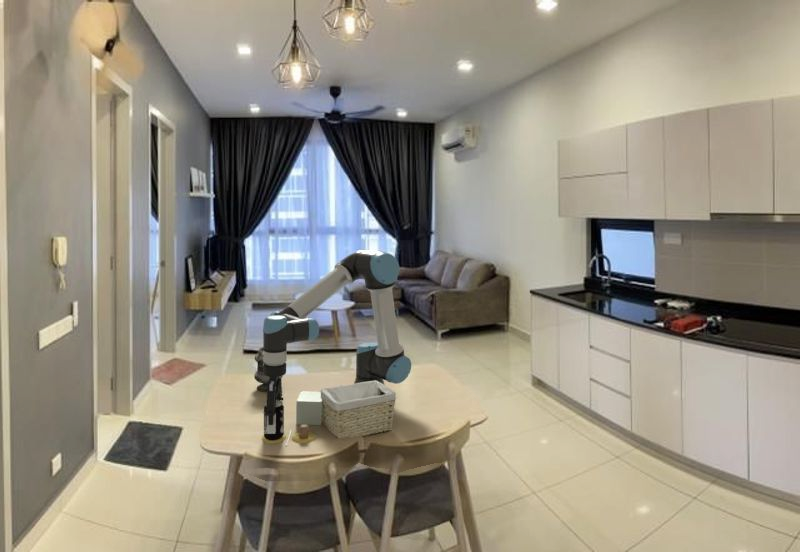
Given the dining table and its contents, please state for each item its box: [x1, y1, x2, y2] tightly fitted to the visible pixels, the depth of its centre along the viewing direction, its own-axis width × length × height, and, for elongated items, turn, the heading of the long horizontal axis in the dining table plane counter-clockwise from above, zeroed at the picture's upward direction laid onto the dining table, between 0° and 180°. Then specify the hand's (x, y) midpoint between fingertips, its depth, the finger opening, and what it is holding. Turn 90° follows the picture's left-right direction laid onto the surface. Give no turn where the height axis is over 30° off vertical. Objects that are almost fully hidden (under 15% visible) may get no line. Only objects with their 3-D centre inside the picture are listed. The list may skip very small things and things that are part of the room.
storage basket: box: [320, 380, 397, 439], centre depth 178 cm, size 24×16×15 cm
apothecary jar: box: [253, 346, 284, 393], centre depth 215 cm, size 12×12×18 cm
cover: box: [295, 390, 323, 426], centre depth 182 cm, size 10×10×9 cm
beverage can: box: [263, 400, 285, 440], centre depth 165 cm, size 7×7×12 cm
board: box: [261, 425, 316, 447], centre depth 167 cm, size 18×13×5 cm
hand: (274, 426), depth 166 cm, fingers open, 10 cm apart
